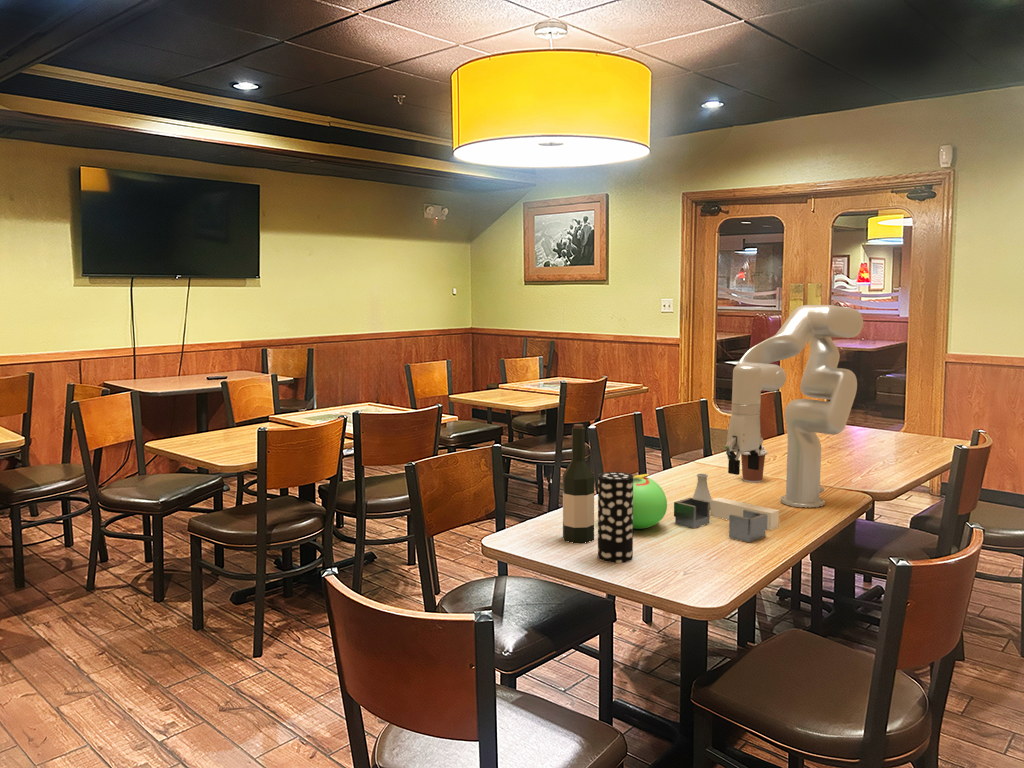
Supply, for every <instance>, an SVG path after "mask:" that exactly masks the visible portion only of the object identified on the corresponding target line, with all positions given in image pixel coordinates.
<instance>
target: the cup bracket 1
mask: <svg viewBox="0 0 1024 768" xmlns="http://www.w3.org/2000/svg"><path fill="white" fill-rule="evenodd" d="M710 515H711V509H710V502H708V501H704V500H699V499H695V498H693V497H687V498H685V499H680V500H677V501H675V502H673V517H674V519H675V523H674V524H675V525H678V526H682V527H686V528H689V529H690V528H691V529H696V528H699V527H702V526H705V525H708V524H710V522H711V521H710V520H711V519H710Z"/></svg>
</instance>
